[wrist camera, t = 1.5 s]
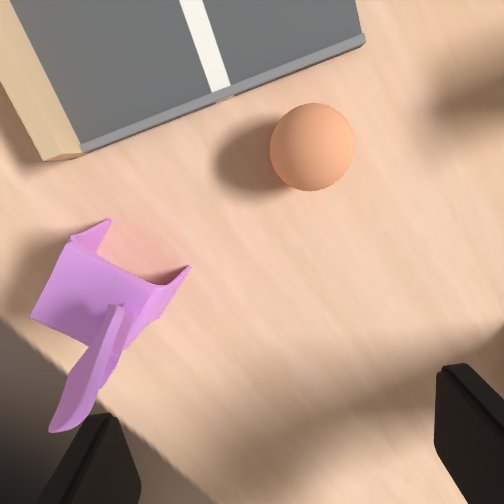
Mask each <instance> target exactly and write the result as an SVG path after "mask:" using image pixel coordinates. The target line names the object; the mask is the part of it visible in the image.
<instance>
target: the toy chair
mask: <svg viewBox="0 0 504 504" xmlns="http://www.w3.org/2000/svg"><path fill="white" fill-rule="evenodd" d="M111 222H112V220H110V219H109V218H108V219H106V220H105V221H103V222H101V223H99V224H97V225H96V226H94V227H92V228H90V229H88V230H86V231H84V232H81V233H78V234H72V235H71V236H70V237H69V239H68V241H67V243H66V244H65V246H64V248H63V250H62V252H61V254H60V256H59V258H58V260H57V262H56V265H55V267H54V269H53V271H52V273H51V275H50V277H49V279H48V281H47V283H46V285H45V287H44V289H43V291H42V293H41V295H40V297H39V299H38V301H37V303H36V304H35V306H34V309H33V311H32V313H31V315H30V318H32V319H34V320H36V321H38V322H40V323H42V324H44V325H46V326H48V327H50V328H52V329H55V330H57V331H59V332H62V333H64V334H66V335H68V336H70V337H72V338H74V339H76V340H78V341H80V342H82V343H84V344H85V345H87V346H89V348H88V349H87V350H86V352H85V353H84V354H83V356H82V357H81V358H80V359H79V361H78V362H77V363H76V364H75V366H74V367H73V368H72V370H71V371H70V372H69V375H68V378H67V382H66V385H65V388H64V392H63V395H62V398H61V401H60V403H59V406H58V408H57V410H56V413H55V415H54V417H53V419H52V421H51V423H50V425H49V429H48V431H49V432H50V433H53V432H61V431H66V430H69V429H72V428H74V427H76V426H77V425H78V424H80V423H81V422H82V421H83V420H84V419H85V418H86V417H87V415H88V414H89V412H90V410H91V409H92V407H93V404H94V402H95V399H96V397H97V394H98V391H99V389H100V388H102V386H103V385H104V384H105V383H106V381H107V380H108V378H109V376H110V375H111V373H112V372H113V370H114V369H115V367H116V365H117V363H118V360H119V357H120V355H121V352H122V351H123V350H125V349H126V348H127V347H128V346H129V345H130V344H131V343H132V342H133V341H134V340H135V339H136V337H137V336H138V335H139V334H140V333H141V332H142V330H143V329H144V328H145V327H146V326H147V325H148V324H149V323H151V322H152V321H154V320H156V319H159V318H160V316H161V315H162V313H163V312H164V310H165V309H166V307H167V305H168V304H169V302H170V301H171V299H172V298H173V296H174V294H175V293H176V291H177V290H178V288H179V287H180V285H181V283H182V282H183V280H184V279H185V277H186V276H187V274H188V272H189V271H190V269H191V268H192V267H191V266H189V265H188V266H187V267H186V268H185V269H184V270H183V271H182V272H181V273H180V274H179V275H178V276H177V277H176V278H175V279H174V280H173V281H172V282H171V283H169V284H168V285H155V284H152V283H149V282H147V281H145V280H143V279H141V278H139V277H137V276H135V275H133V274H131V273H129V272H127V271H125V270H123V269H121V268H119V267H118V266H116V265H114V264H112V263H110V262H109V261H107V260H105V259H104V258H102V257H101V256H99V255H97V254H96V251H97V249H98V247H99V245H100V243H101V241H102V239H103V238H104V236H105V234H106V232H107V230H108V228H109V226H110V224H111Z"/></svg>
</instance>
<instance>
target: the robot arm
mask: <svg viewBox="0 0 504 504" xmlns="http://www.w3.org/2000/svg"><path fill="white" fill-rule="evenodd" d="M434 446H435V449H436V452H437V454H438V456H439V458H440V459H441V461H442V463H443V464H444V466H445V467H446V469H447V471H448V472H449V474H450V475H451V477H452V479H453V480H454V482H455V483H456V485H457V487H458V488H459V490H460V491H461V493H462V495H463V496H464V498H465V499H466V501H467V503H468V504H504V399H503V398H502V397H501V396H500V395H499V394H498V393H496V392H495V391H494V390H493V389H492V388H491V387H490V386H489V385H488V384H487V383H486V382H485V381H484V380H483V379H482V378H481V377H480V376H479V375H478V374H477V373H476V372H475V371H474V370H473V369H472V368H471V367H470V366H469V365H467V364H465V363H461V364H454V365H447V366H443V367H442V370H441V372H438V373H437V376H436V400H435V424H434ZM140 494H141V481H140V477H139V475H138V472H137V469H136V467H135V464H134V461H133V458H132V456H131V453H130V450H129V447H128V445H127V442H126V440H125V437H124V434H123V431H122V429H121V426H120V423H119V420H118V418H117V417H113V416H112V414H111V413H101V414H94V415H89V416H88V417H87V418H86V419H85V421H84V422H83V424H82V426H81V427H80V429H79V431H78V432H77V434H76V436H75V438H74V439H73V441H72V443H71V444H70V446H69V448H68V450H67V451H66V453H65V455H64V457H63V458H62V460H61V462H60V463H59V465H58V467H57V469H56V470H55V472H54V474H53V476H52V477H51V479H50V480H49V481H48V483H47V485H46V487H45V488H44V490H43V492H42V493H41V495H40V497H39V498H38V500H37V502H36V503H35V504H138V501H139V498H140Z"/></svg>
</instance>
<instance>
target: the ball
mask: <svg viewBox="0 0 504 504" xmlns="http://www.w3.org/2000/svg"><path fill="white" fill-rule="evenodd" d="M353 153H354V136H353V132H352V129H351V127H350V125H349V123H348V121H347V120H346V118H345V117H344V116H343V115H342V114H341V113H340V112H339V111H337V110H335V109H334V108H332V107H330V106H327V105H324V104H318V103H311V104H305V105H301V106H298V107H296V108H294V109H292V110H291V111H289V112H288V113H287V114H285V115H284V116H283V117H282V118H281V120H280V121H279V122H278V124H277V125H276V127H275V129H274V131H273V134H272V137H271V140H270V159H271V163H272V165H273V168H274V170H275V172H276V173H277V175H278V176H279V177H280V178H281V179H282V180H283V181H284V182H285V183H286V184H288V185H289V186H291V187H293V188H296V189H299V190H303V191H316V190H320V189H324V188H326V187H329V186H330V185H332V184H334V183H335V182H336V181H338V180H339V179H340V178H341V177H342V176H343V175H344V173H345V172H346V170H347V169H348V167H349V165H350V163H351V161H352V158H353Z"/></svg>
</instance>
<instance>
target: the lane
mask: <svg viewBox="0 0 504 504" xmlns="http://www.w3.org/2000/svg"><path fill="white" fill-rule="evenodd" d="M365 43H366V40H365V35H364V33H363V34H362V31H361V27H360V22H359V17H358V12H357V8H356V3H355V0H0V82H1V83H2V85H3V87H4V89H5V91H6V93H7V95H8V96H9V98H10V100H11V102H12V104H13V106H14V108H15V109H16V111H17V113H18V115H19V117H20V119H21V121H22V122H23V124H24V126H25V128H26V130H27V132H28V134H29V135H30V137H31V139H32V141H33V143H34V145H35V147H36V148H37V150H38V152H39V154H40V156H41V158H42V160H43V161H53V160H67V159H75V158H77V157H80V156H82V155H85V154H88V153H90V152H93V151H95V150H98V149H100V148H103V147H106V146H108V145H111V144H113V143H116V142H118V141H121V140H123V139H126V138H129V137H131V136H134V135H136V134H139V133H141V132H144V131H147V130H149V129H152V128H154V127H157V126H159V125H162V124H165V123H167V122H170V121H172V120H175V119H177V118H180V117H183V116H185V115H188V114H190V113H193V112H195V111H198V110H201V109H203V108H206V107H208V106H211V105H213V104H216V103H218V102H221V101H224V100H226V99H229V98H231V97H234V96H236V95H239V94H242V93H244V92H247V91H249V90H252V89H254V88H257V87H260V86H262V85H265V84H267V83H270V82H272V81H275V80H278V79H280V78H283V77H285V76H288V75H290V74H293V73H295V72H298V71H301V70H303V69H306V68H308V67H311V66H313V65H316V64H319V63H321V62H324V61H326V60H329V59H331V58H334V57H337V56H339V55H342V54H344V53H347V52H349V51H352V50H355V49H357V48H360V47H361V46H362V45H363V44H365Z"/></svg>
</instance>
